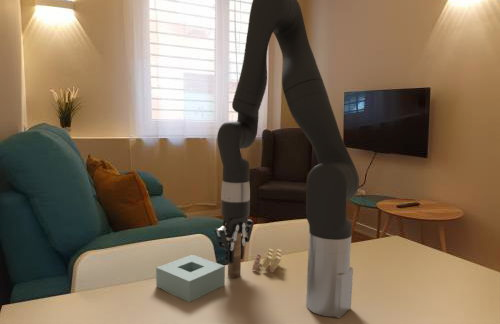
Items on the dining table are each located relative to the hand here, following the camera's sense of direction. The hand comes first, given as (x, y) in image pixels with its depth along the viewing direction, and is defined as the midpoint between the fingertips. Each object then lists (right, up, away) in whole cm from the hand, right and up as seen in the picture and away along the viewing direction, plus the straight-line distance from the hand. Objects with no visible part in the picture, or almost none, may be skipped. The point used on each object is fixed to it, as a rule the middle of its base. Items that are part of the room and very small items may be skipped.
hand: (234, 260), depth 101 cm
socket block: (-11, -5, -6) cm, 13 cm away
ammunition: (+9, -4, +6) cm, 12 cm away
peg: (0, -4, 0) cm, 4 cm away
